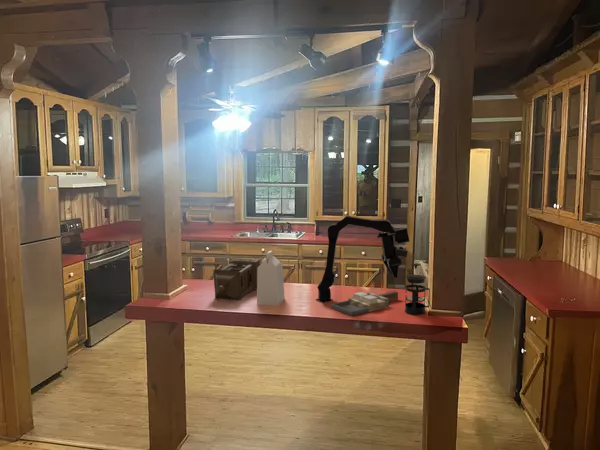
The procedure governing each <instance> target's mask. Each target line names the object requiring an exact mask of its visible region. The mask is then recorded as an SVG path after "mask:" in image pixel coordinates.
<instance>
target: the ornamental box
mask: <svg viewBox="0 0 600 450" xmlns="http://www.w3.org/2000/svg"><path fill="white" fill-rule="evenodd" d="M260 264H261V261H260V259H259V258H258V259H257V258H256V259H253V258H243V257H242V258H241V257H240V258H239V257H237V258H234V259H232V261H229V264H227V265H226V266H225V267H223V268H221V269H217V268H216V269H215V268H214V269H213V270H212V271H213V284H214V287H213V288H214V299H219V300H220V299H222V300H232V301H234V300H235V301H242V299H243V296H245V294H248V293H249V292H251V291H256V290H257V269H258V267H259V266H260Z"/></svg>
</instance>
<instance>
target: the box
mask: <svg viewBox="0 0 600 450" xmlns="http://www.w3.org/2000/svg"><path fill="white" fill-rule="evenodd" d="M331 309H333V310H335V311H338V312H340V313H343V314H344V315H347V316H349V317H354V316H358V315H362V314H366V313H369V312H368V308H363V309H362V308H359V307H357V306H354V305H351V304H349V300H348V299H347V300H343V301H339V302H334V303H331Z"/></svg>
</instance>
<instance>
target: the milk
mask: <svg viewBox="0 0 600 450" xmlns="http://www.w3.org/2000/svg"><path fill="white" fill-rule="evenodd" d="M283 271H284V270H283V263H282V262H281V261H280V260H279V259H278V258H277V257H276V256H274V251H273V250H269V251H267V252H266V257H264V258H263V259H261V261H260V266H259V267H258V268H257V289H256V305H259V306H280V305H281V304H282V302H283V301H284V300H285V297H286V296H285V283H284V272H283Z"/></svg>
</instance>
